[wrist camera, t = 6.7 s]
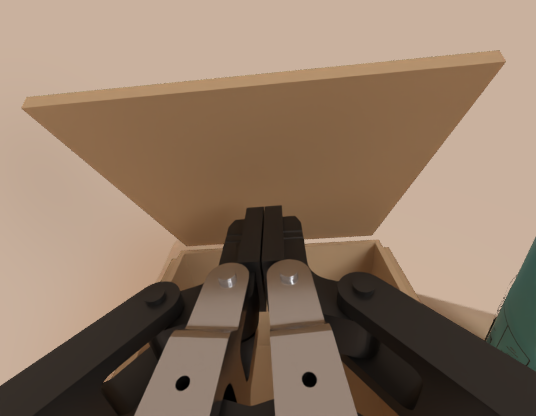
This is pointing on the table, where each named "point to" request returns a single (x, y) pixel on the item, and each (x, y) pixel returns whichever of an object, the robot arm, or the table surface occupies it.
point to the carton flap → (272, 141)
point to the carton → (321, 263)
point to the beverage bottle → (518, 316)
